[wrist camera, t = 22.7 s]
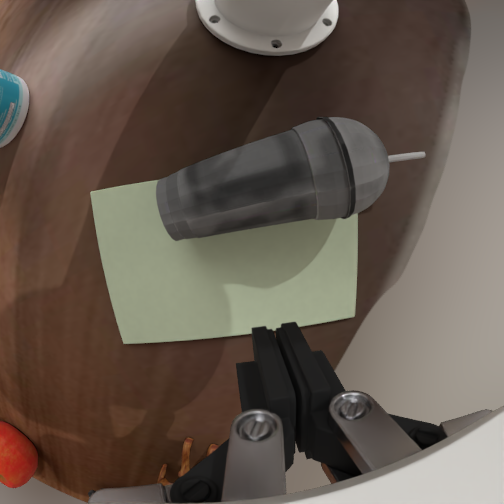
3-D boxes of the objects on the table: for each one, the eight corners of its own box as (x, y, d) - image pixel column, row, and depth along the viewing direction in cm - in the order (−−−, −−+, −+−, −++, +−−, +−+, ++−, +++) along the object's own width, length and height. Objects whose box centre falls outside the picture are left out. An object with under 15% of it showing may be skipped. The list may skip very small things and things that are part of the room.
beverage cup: (139, 146, 16) (432, 87, 15) (176, 174, 23) (397, 125, 22) (160, 262, 16) (471, 185, 15) (194, 259, 23) (423, 202, 22)
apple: (-11, 426, 27) (-33, 462, 17) (-4, 404, 26) (-32, 447, 16) (35, 463, 30) (19, 502, 20) (49, 447, 29) (29, 495, 18)
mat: (92, 191, 21) (90, 191, 21) (352, 165, 23) (356, 165, 23) (125, 340, 25) (123, 344, 24) (352, 314, 27) (354, 316, 26)
